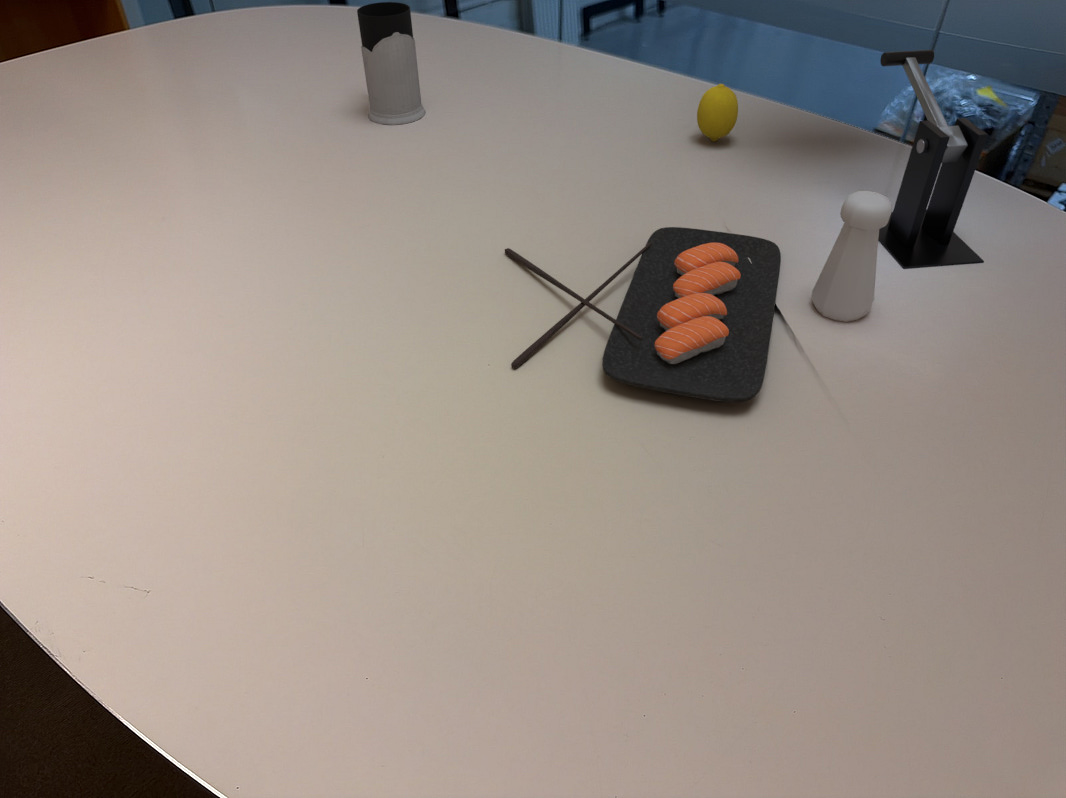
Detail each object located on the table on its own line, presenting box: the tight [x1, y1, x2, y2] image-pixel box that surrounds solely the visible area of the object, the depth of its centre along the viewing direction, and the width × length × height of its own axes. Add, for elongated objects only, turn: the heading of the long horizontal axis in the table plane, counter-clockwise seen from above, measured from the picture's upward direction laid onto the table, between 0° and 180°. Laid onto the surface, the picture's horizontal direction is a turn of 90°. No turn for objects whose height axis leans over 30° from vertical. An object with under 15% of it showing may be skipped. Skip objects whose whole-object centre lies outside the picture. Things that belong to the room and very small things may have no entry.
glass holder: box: [356, 1, 426, 126], centre depth 122 cm, size 9×14×15 cm, turn 30°
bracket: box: [878, 117, 988, 270], centre depth 87 cm, size 12×9×14 cm
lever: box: [879, 49, 968, 164], centre depth 87 cm, size 15×6×2 cm, turn 6°
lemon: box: [696, 83, 739, 142], centre depth 112 cm, size 6×6×8 cm
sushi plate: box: [504, 226, 782, 403], centre depth 82 cm, size 29×30×4 cm
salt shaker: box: [811, 190, 893, 323], centre depth 77 cm, size 6×6×13 cm
